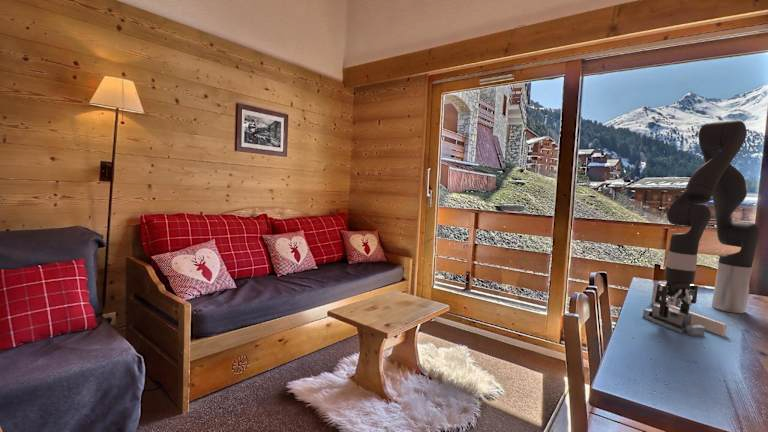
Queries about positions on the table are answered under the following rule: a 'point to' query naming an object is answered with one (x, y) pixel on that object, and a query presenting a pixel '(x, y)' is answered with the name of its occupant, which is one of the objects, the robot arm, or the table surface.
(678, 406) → the table surface
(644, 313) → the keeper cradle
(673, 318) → the lock bar
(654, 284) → the medicine box
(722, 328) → the door edge
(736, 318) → the table surface
